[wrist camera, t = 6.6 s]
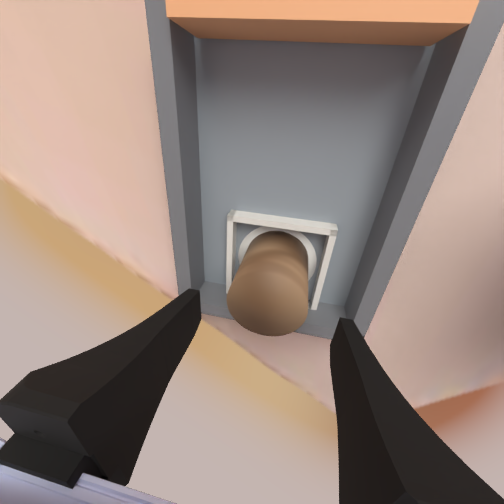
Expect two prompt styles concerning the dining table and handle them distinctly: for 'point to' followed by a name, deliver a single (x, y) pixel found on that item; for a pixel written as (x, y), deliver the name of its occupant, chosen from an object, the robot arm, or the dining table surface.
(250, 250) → the brown rounded block
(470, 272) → the dining table surface
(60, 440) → the robot arm
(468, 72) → the housing
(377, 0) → the gate
